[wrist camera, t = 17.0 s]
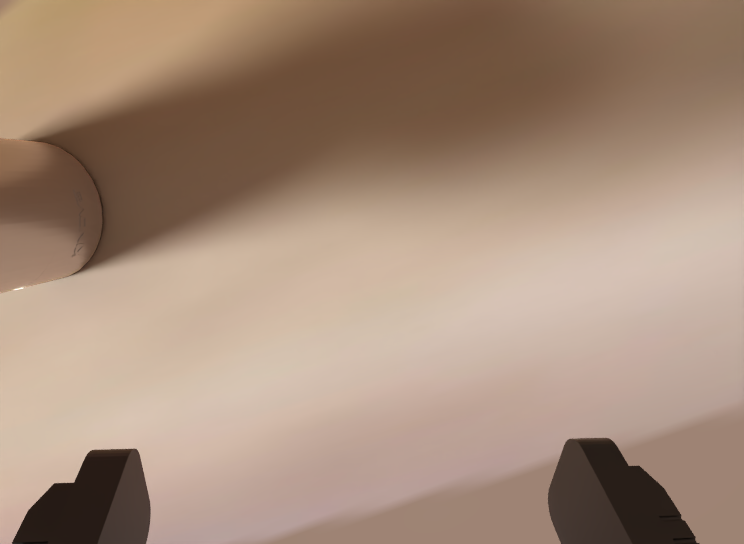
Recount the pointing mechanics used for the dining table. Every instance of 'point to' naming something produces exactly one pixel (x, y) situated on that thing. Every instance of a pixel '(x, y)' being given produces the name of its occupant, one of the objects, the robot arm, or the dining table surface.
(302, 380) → the dining table surface
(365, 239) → the dining table surface
